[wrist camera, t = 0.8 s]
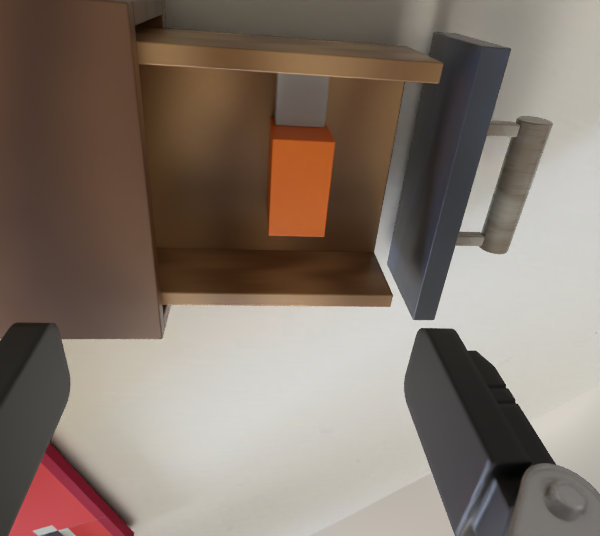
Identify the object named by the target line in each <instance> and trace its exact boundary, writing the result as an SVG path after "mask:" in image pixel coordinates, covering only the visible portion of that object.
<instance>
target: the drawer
mask: <svg viewBox="0 0 600 536" xmlns="http://www.w3.org/2000/svg"><path fill="white" fill-rule="evenodd" d="M135 34H136V44H137V54H138V64H139V75H140V85H141V95H142V105H143V115H144V125H145V135H146V145H147V155H148V165H149V176H150V186H151V196H152V206H153V216H154V226H155V236H156V246H157V256H158V266H159V276H160V287H161V297H162V305H251V306H359V307H390V306H391V301H392V297H393V294H392V292H391V290H390V288H389V285H388V283H387V281H386V279H385V276H384V274H383V272H382V270H381V267H380V265H379V263H378V261H377V258H376V256H375V254H374V249H375V244H376V238H377V233H378V227H379V222H380V216H381V211H382V205H383V200H384V194H385V189H386V183H387V178H388V172H389V167H390V161H391V156H392V150H393V145H394V139H395V134H396V128H397V123H398V117H399V112H400V106H401V101H402V95H403V89H404V84H405V82H419V83H423V88H422V93H421V98H420V103H419V108H418V113H417V118H416V123H415V128H414V133H413V138H412V143H411V148H410V153H409V158H408V163H407V167H406V172H405V177H404V182H403V187H402V192H401V197H400V202H399V207H398V212H397V217H396V222H395V227H394V232H393V237H392V242H391V247H390V252H389V257H388V262H387V265H388V267H389V269H390V271H391V274H392V276H393V278H394V280H395V282H396V284H397V286H398V289H399V291H400V293H401V295H402V297H403V299H404V301H405V303H406V306H407V308H408V310H409V312H410V314H411V316H412V318H413V320H434V318H435V315H436V311H437V308H438V304H439V301H440V297H441V294H442V290H443V287H444V283H445V280H446V276H447V273H448V269H449V266H450V262H451V259H452V255H453V252H454V248H455V245H459V246H479V247H480V248H481V249H483V250H485V251H487V252H490V253H494V254H504V253H506V252H507V251H508V249H509V246H510V243H511V241H512V238H513V235H514V232H515V229H516V226H517V224H518V221H519V218H520V215H521V212H522V210H523V207H524V204H525V201H526V198H527V195H528V193H529V190H530V187H531V184H532V181H533V178H534V176H535V173H536V170H537V167H538V164H539V162H540V159H541V156H542V153H543V150H544V147H545V145H546V142H547V139H548V136H549V133H550V131H551V128H552V125H553V123H552V122H550V121H548V120H546V119H542V118H537V117H530V116H521V117H518V118H517V120H516V123H515V122H504V121H491V118H492V114H493V111H494V107H495V104H496V100H497V97H498V93H499V90H500V86H501V83H502V79H503V76H504V72H505V69H506V65H507V62H508V58H509V55H510V51H511V49H510V48H507V47H504V46H500V45H496V44H493V43H489V42H485V41H482V40H478V39H474V38H471V37H467V36H463V35H460V34H455V33H443V32H434V34H433V39H432V44H431V48H430V53H429V56H427V55H424V54H422V53H420V52H418V51H415V50H413V49H411V48H408V47H406V46H395V45H382V44H369V43H355V42H342V41H328V40H315V39H301V38H288V37H274V36H261V35H247V34H234V33H220V32H207V31H193V30H180V29H166V28H153V27H139V26H135ZM276 73H282V74H297V75H312V76H328V77H330V82H329V91H328V101H327V111H326V121H325V123H326V125H327V127H328V129H329V131H330V133H331V135H332V137H333V139H334V141H335V150H334V159H333V167H332V176H331V185H330V193H329V202H328V211H327V219H326V228H325V236H324V237H306V236H269V235H268V223H267V206H266V204H267V179H268V154H269V129H270V118H275V96H276ZM486 136H503V137H511V140H510V143H509V146H508V149H507V152H506V156H505V159H504V162H503V165H502V168H501V172H500V175H499V178H498V181H497V184H496V188H495V191H494V194H493V197H492V200H491V204H490V207H489V210H488V213H487V216H486V220H485V223H484V226H483V229H482V232H481V233H480V232H459V230H460V227H461V223H462V220H463V216H464V213H465V209H466V206H467V202H468V199H469V195H470V192H471V188H472V185H473V181H474V178H475V174H476V171H477V167H478V164H479V160H480V157H481V153H482V150H483V146H484V143H485V139H486Z"/></svg>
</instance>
